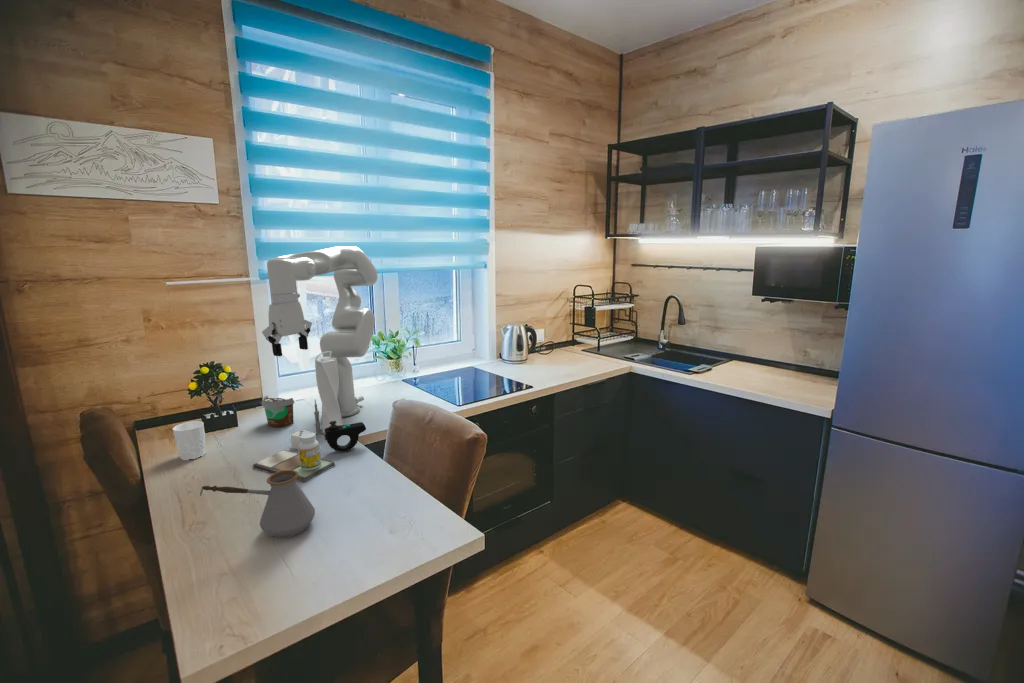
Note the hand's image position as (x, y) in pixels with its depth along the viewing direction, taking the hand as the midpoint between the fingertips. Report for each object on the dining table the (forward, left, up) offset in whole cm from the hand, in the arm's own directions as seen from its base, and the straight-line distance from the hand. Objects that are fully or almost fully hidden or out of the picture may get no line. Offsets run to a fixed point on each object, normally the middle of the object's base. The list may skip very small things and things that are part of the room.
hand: (291, 352), depth 150 cm
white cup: (+22, -22, -30) cm, 44 cm away
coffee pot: (+40, +36, -30) cm, 62 cm away
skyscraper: (-11, +2, -31) cm, 33 cm away
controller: (-1, +19, -30) cm, 36 cm away
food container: (-6, -20, -30) cm, 37 cm away
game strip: (+14, +13, -30) cm, 36 cm away
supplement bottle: (+14, +20, -29) cm, 38 cm away
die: (+3, +4, -30) cm, 31 cm away
